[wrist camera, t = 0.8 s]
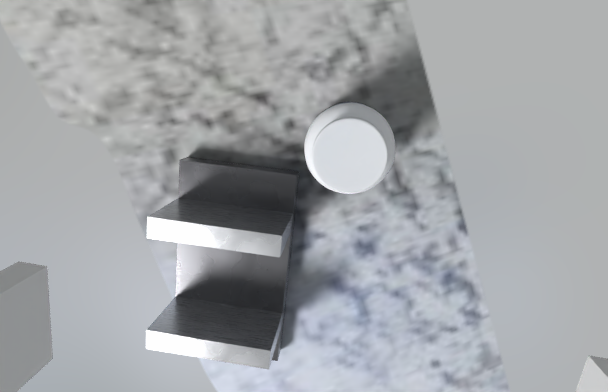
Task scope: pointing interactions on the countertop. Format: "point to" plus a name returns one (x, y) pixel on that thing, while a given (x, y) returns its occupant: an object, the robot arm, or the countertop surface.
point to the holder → (227, 261)
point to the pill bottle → (349, 148)
